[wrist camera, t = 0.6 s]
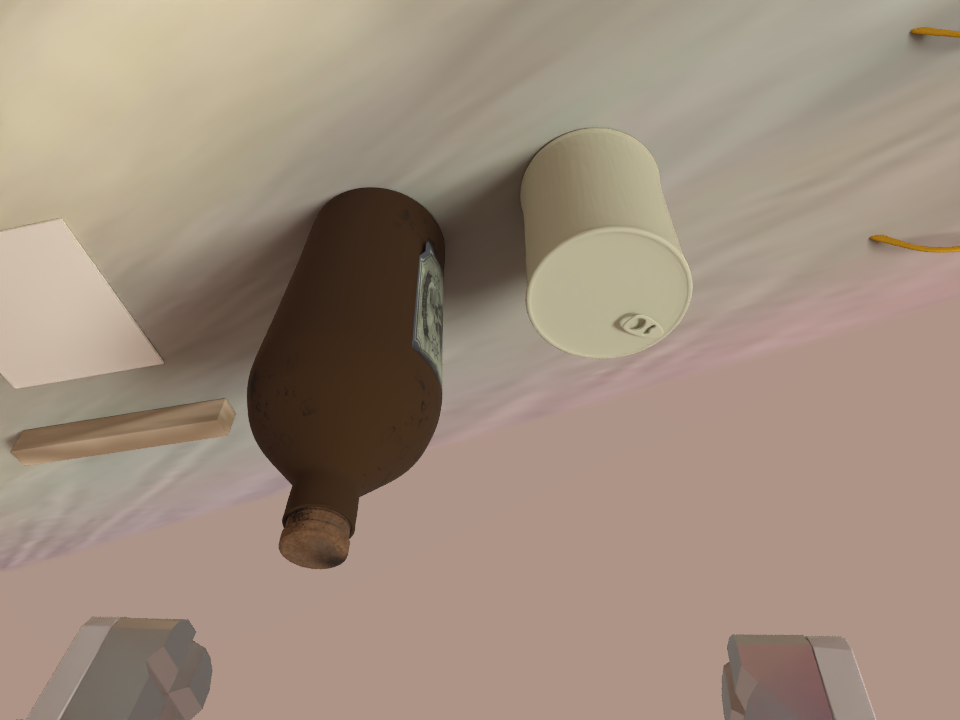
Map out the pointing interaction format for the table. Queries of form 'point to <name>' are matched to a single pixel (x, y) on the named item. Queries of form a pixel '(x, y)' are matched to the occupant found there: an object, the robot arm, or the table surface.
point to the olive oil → (351, 366)
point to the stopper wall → (125, 432)
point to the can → (600, 247)
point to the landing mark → (61, 311)
